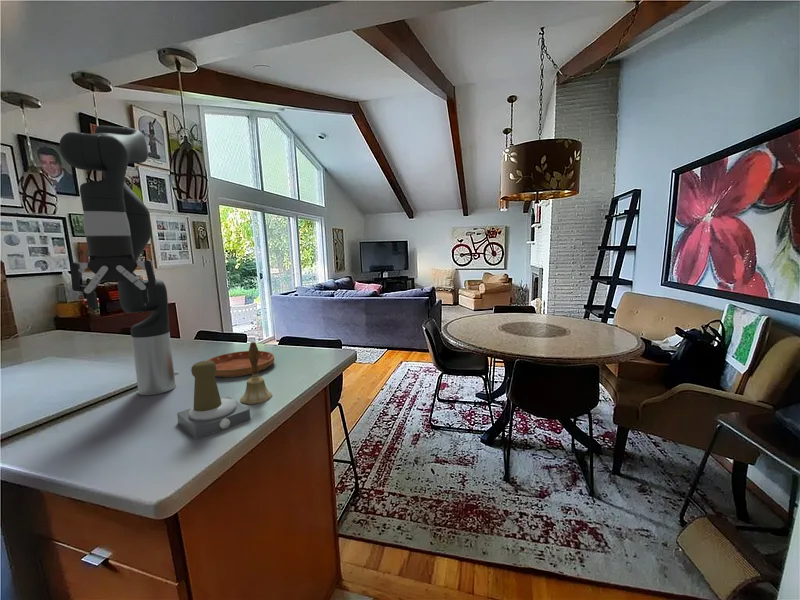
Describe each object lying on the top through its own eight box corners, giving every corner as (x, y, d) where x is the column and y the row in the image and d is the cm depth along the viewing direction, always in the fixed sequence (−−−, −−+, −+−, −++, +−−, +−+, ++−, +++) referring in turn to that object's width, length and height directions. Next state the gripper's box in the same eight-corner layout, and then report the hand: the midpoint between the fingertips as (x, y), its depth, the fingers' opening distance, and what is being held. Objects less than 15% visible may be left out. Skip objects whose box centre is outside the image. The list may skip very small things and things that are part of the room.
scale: (178, 422, 83) (176, 408, 83) (229, 405, 92) (228, 393, 92) (197, 439, 75) (195, 424, 75) (251, 419, 84) (250, 405, 84)
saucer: (252, 355, 139) (251, 346, 139) (287, 365, 126) (287, 355, 125) (191, 372, 121) (190, 362, 120) (225, 385, 107) (224, 374, 107)
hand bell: (274, 391, 102) (270, 337, 99) (269, 403, 93) (264, 345, 91) (244, 393, 100) (240, 339, 98) (236, 405, 92) (231, 347, 90)
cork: (202, 413, 80) (197, 367, 79) (188, 407, 83) (183, 363, 82) (226, 403, 85) (222, 360, 84) (213, 398, 88) (208, 356, 87)
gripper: (151, 233, 81) (160, 301, 84) (70, 233, 74) (83, 308, 77) (147, 234, 75) (157, 307, 78) (58, 234, 68) (72, 314, 71)
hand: (120, 307), depth 78 cm, fingers open, 8 cm apart
